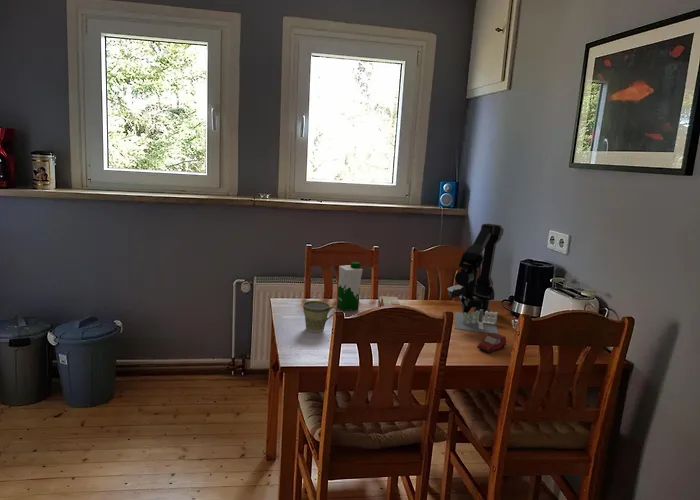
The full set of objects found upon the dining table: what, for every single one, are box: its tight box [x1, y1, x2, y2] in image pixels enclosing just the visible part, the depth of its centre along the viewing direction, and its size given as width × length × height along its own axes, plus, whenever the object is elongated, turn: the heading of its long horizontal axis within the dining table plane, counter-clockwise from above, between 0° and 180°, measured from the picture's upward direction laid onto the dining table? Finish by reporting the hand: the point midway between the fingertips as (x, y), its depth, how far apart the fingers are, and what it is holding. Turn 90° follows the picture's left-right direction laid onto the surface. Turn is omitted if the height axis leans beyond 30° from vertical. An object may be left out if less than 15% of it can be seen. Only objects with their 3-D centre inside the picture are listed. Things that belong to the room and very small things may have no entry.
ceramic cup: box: [302, 300, 338, 334], centre depth 198 cm, size 13×10×10 cm
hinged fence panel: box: [462, 310, 480, 323], centre depth 220 cm, size 8×1×4 cm, turn 120°
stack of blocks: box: [377, 295, 401, 308], centre depth 207 cm, size 21×6×12 cm, turn 2°
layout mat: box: [454, 311, 499, 334], centre depth 221 cm, size 22×17×1 cm
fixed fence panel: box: [478, 309, 498, 324], centre depth 222 cm, size 7×2×5 cm, turn 79°
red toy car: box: [476, 333, 507, 354], centre depth 194 cm, size 6×12×5 cm, turn 132°
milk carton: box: [336, 261, 364, 311], centre depth 226 cm, size 9×9×20 cm
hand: (464, 316), depth 220 cm, fingers closed
